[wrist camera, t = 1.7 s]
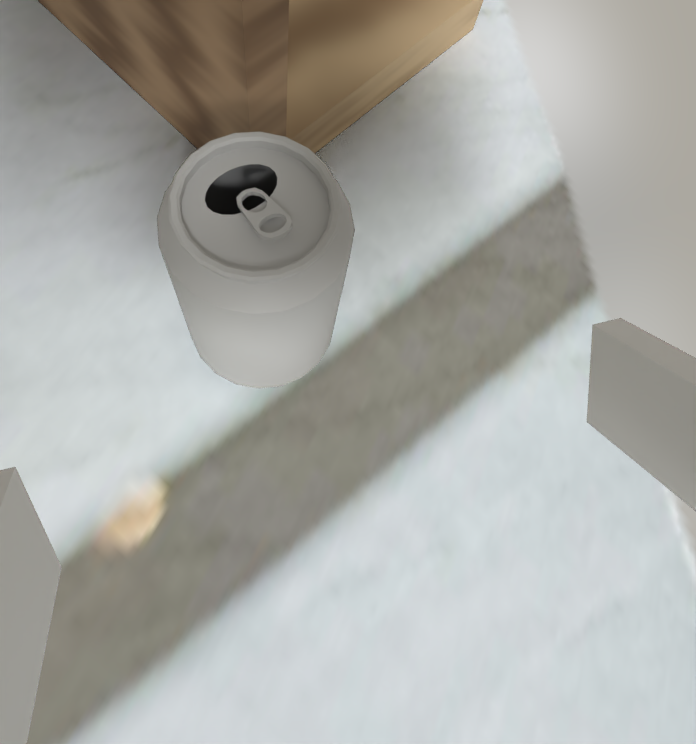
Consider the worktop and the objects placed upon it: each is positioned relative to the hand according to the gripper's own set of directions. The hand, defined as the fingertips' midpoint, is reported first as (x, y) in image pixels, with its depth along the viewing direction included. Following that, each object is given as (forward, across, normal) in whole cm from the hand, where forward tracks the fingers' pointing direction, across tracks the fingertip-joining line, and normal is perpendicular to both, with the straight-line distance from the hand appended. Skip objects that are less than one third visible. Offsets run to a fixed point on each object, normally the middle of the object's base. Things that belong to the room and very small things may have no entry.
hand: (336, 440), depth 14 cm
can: (+20, 0, -5) cm, 20 cm away
